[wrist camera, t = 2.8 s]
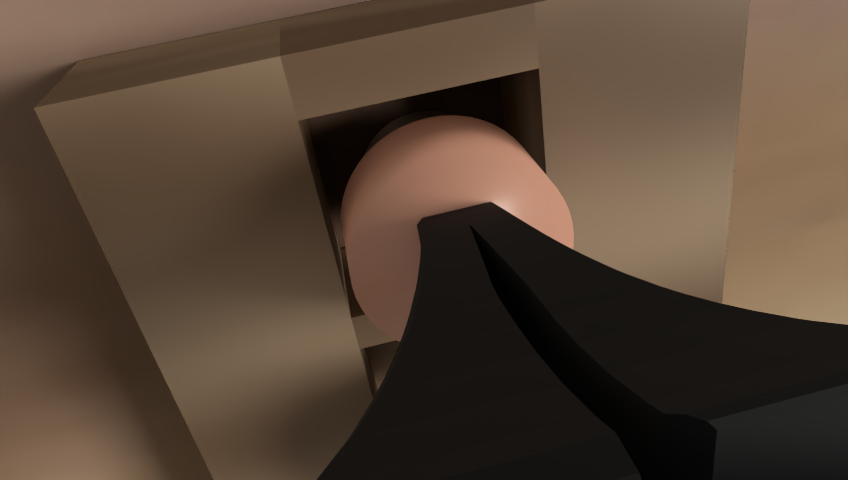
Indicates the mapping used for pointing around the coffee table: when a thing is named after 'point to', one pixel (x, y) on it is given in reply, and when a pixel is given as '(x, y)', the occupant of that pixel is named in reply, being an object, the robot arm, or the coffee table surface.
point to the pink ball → (433, 201)
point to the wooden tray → (307, 203)
